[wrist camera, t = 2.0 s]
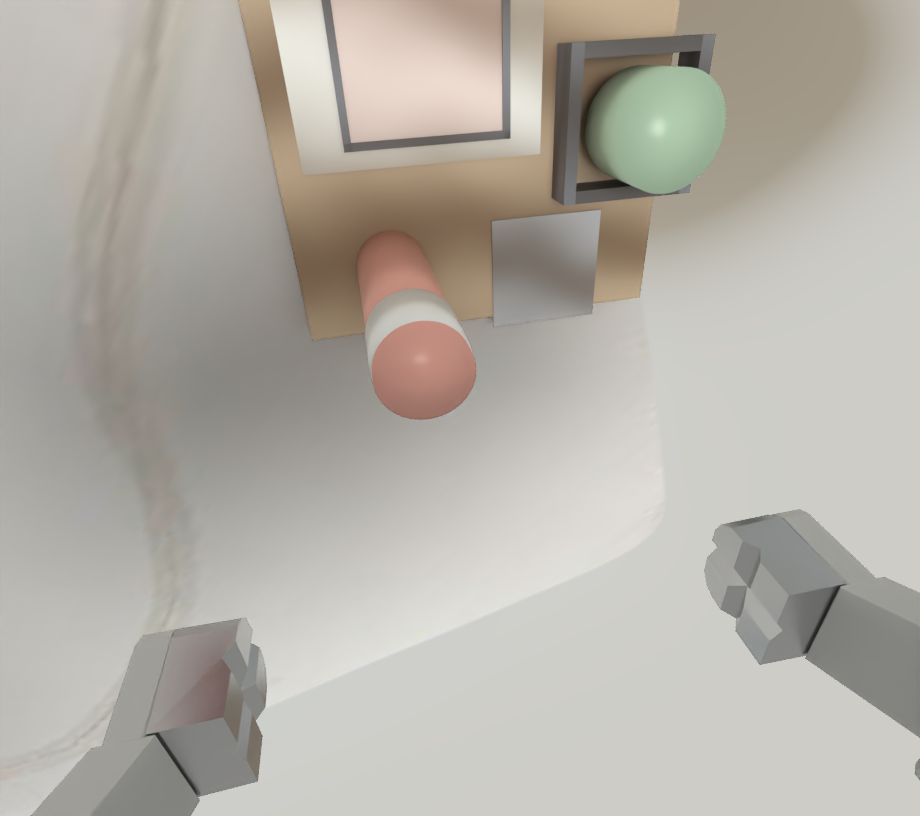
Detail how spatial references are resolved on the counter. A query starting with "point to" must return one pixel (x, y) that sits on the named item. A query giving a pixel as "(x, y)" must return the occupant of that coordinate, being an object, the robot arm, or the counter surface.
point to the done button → (656, 126)
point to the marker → (411, 330)
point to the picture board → (457, 145)
